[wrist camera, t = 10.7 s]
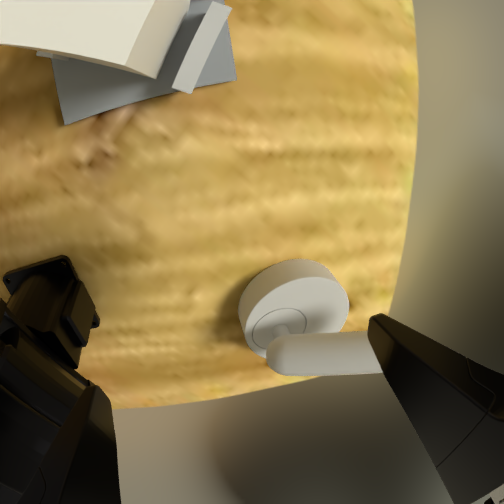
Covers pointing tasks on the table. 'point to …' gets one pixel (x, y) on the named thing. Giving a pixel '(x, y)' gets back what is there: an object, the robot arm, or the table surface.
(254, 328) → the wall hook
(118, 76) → the plate
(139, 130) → the table surface
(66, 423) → the robot arm
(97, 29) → the white block orange patch
